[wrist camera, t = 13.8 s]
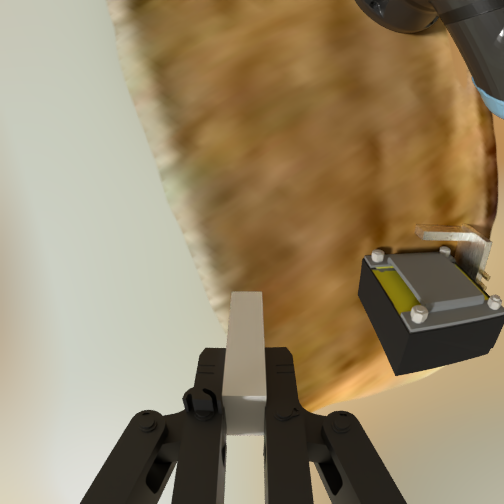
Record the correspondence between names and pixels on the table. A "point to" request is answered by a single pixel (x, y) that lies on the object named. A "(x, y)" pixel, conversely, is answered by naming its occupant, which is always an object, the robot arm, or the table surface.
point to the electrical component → (427, 310)
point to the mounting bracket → (462, 247)
